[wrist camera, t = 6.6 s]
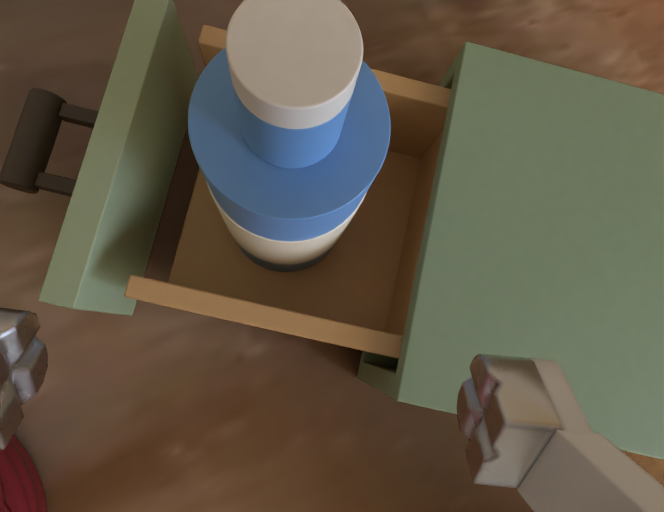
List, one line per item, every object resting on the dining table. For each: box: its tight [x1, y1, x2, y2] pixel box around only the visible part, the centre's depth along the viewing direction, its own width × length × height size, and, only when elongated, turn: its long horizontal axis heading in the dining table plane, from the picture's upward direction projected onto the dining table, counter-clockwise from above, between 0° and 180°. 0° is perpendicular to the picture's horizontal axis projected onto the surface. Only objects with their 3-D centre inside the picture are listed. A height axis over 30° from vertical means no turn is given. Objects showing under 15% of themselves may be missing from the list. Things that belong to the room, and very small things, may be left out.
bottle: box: [188, 0, 391, 272], centre depth 17 cm, size 5×5×14 cm
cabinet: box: [357, 41, 664, 459], centre depth 22 cm, size 15×13×9 cm
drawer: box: [0, 0, 451, 359], centre depth 21 cm, size 18×12×7 cm
